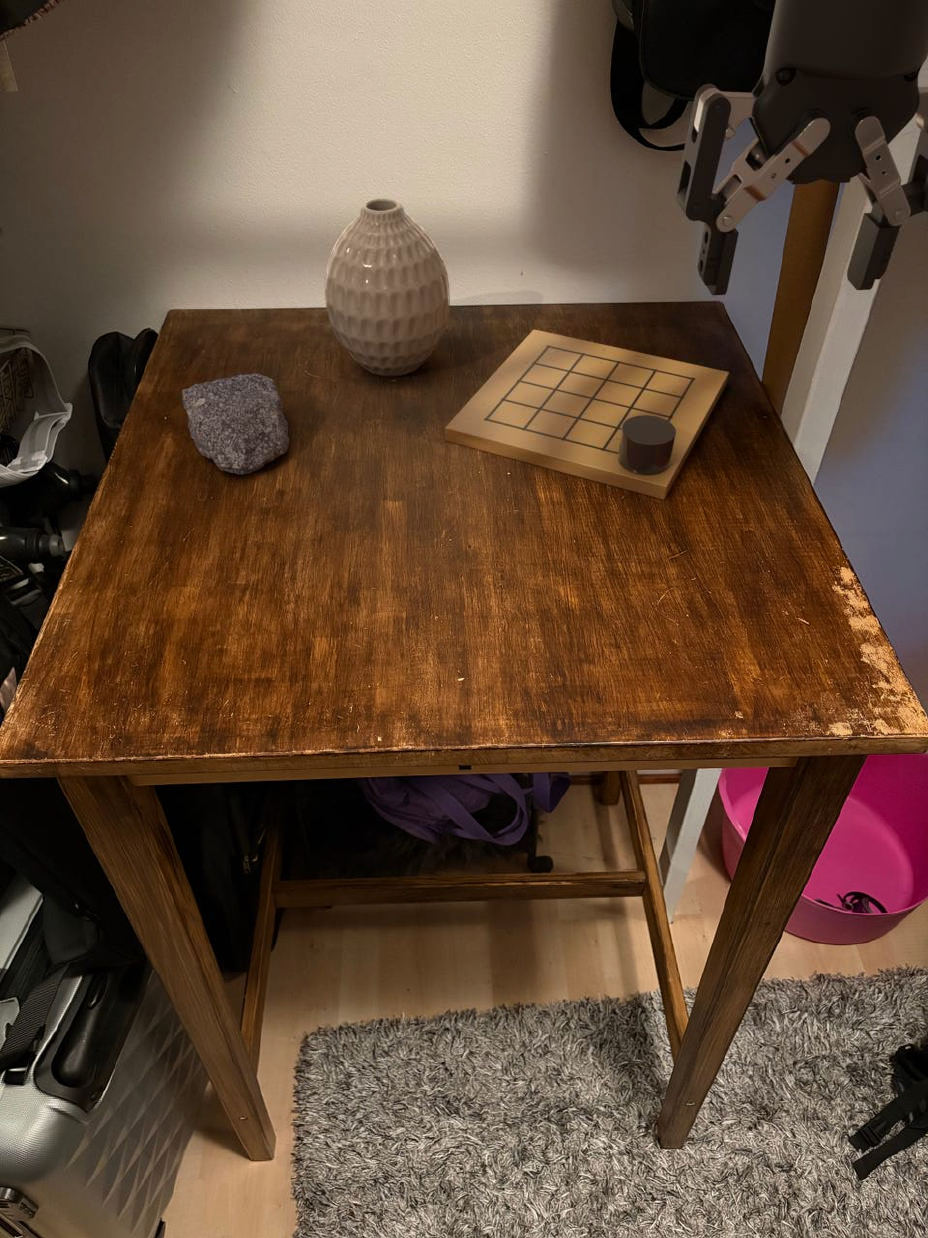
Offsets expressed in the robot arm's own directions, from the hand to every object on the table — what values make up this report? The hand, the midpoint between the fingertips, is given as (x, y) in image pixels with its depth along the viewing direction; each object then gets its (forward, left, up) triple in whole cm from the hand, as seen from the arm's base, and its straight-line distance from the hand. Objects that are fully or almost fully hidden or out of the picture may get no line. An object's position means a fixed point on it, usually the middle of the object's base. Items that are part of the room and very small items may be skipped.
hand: (787, 287), depth 53 cm
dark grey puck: (+10, -15, -24) cm, 30 cm away
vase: (+41, -23, -26) cm, 54 cm away
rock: (+46, -4, -26) cm, 53 cm away
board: (+18, -23, -26) cm, 39 cm away
